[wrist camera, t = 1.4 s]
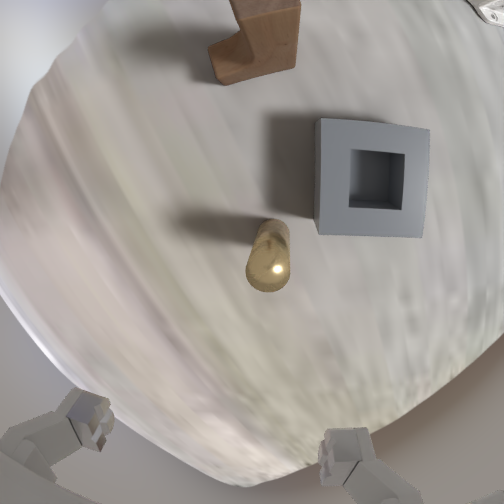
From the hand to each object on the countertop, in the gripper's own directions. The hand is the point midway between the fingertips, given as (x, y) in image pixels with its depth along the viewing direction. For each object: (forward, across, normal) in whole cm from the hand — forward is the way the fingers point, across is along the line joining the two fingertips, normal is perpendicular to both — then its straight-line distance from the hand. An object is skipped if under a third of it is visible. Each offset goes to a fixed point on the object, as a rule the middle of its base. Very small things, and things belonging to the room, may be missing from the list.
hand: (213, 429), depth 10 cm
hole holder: (+30, -12, -9) cm, 33 cm away
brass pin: (+30, -2, 0) cm, 31 cm away
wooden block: (+30, +2, -21) cm, 37 cm away
